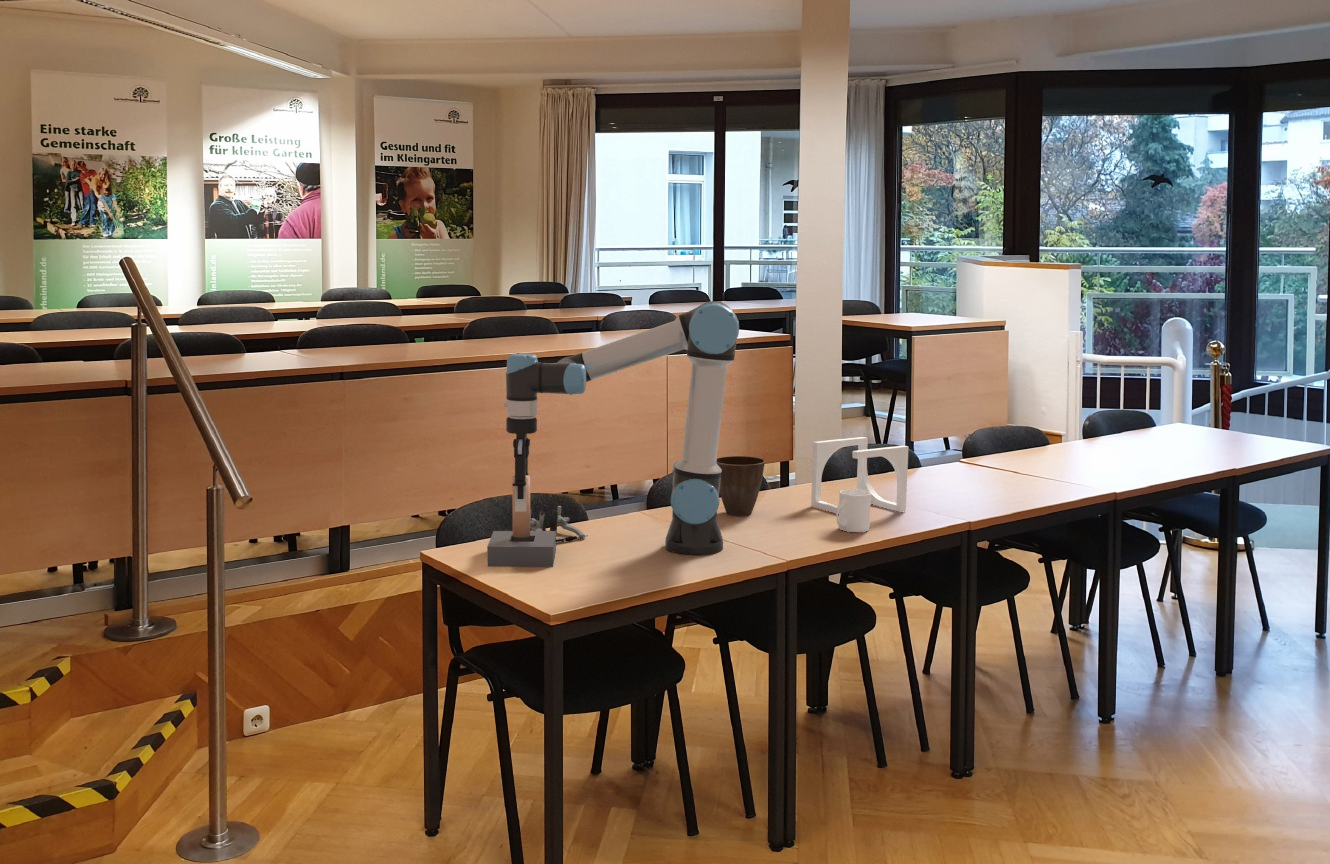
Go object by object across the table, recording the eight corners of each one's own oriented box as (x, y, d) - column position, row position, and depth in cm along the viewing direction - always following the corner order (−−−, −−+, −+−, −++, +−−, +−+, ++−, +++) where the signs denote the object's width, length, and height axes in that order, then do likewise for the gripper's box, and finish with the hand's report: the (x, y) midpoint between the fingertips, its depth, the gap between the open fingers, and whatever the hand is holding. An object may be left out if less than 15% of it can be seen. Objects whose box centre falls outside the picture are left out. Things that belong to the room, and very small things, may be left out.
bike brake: (517, 530, 323) (552, 558, 307) (519, 507, 321) (555, 533, 305) (561, 525, 330) (598, 551, 315) (563, 502, 329) (600, 528, 313)
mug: (823, 530, 331) (825, 493, 329) (851, 524, 338) (853, 487, 337) (847, 536, 324) (849, 498, 322) (875, 530, 332) (877, 492, 330)
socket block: (555, 549, 307) (555, 530, 306) (553, 566, 291) (553, 546, 290) (493, 549, 306) (493, 530, 305) (487, 566, 290) (487, 546, 289)
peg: (530, 533, 300) (530, 474, 297) (529, 537, 295) (529, 478, 293) (513, 533, 299) (513, 474, 297) (511, 537, 295) (511, 478, 293)
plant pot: (713, 518, 343) (714, 464, 341) (713, 507, 358) (713, 455, 356) (764, 519, 343) (766, 465, 340) (762, 508, 358) (763, 456, 355)
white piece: (905, 512, 355) (908, 446, 352) (854, 519, 345) (857, 452, 342) (861, 499, 372) (863, 436, 369) (811, 506, 361) (813, 441, 358)
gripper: (509, 411, 301) (509, 501, 305) (503, 421, 284) (503, 516, 288) (538, 411, 301) (538, 501, 305) (534, 422, 284) (534, 517, 288)
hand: (521, 508), depth 296 cm, fingers closed on peg, 4 cm apart
